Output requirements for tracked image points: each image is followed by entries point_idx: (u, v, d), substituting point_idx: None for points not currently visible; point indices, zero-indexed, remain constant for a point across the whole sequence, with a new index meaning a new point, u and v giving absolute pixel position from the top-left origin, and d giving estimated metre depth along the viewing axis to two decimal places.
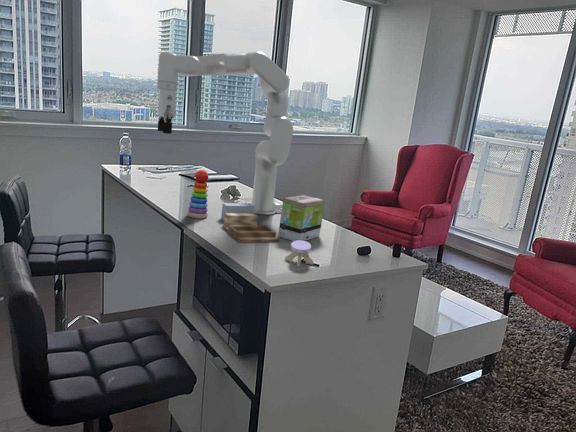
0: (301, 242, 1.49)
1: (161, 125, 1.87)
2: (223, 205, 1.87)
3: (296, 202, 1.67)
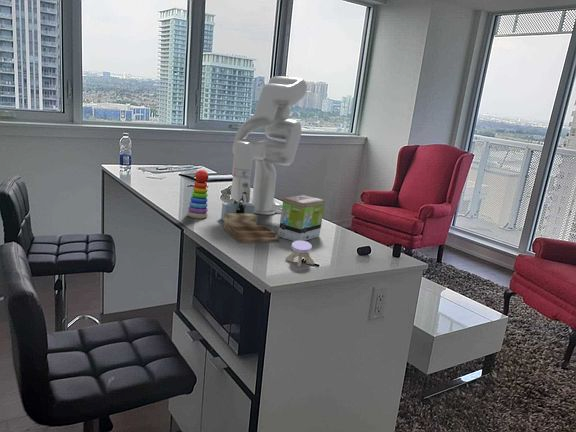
0: (302, 242, 1.49)
1: None
2: (223, 205, 1.87)
3: (296, 202, 1.67)
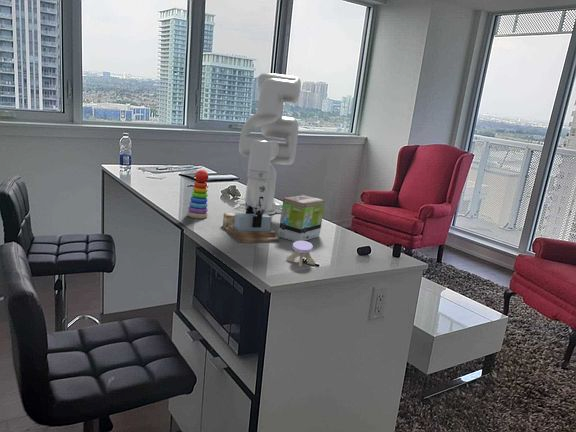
0: (303, 242, 1.49)
1: None
2: (236, 216, 1.67)
3: (296, 202, 1.67)
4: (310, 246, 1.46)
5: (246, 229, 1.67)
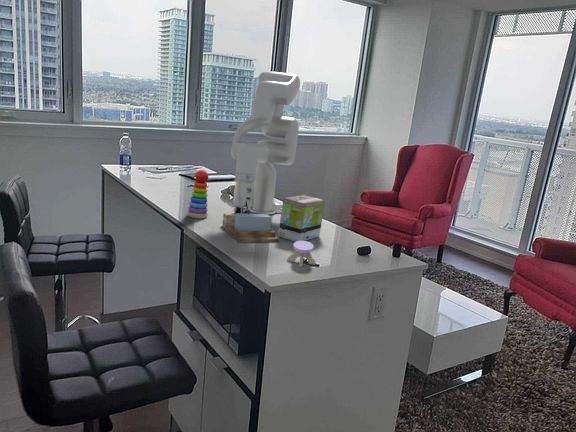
0: (303, 242, 1.49)
1: None
2: (236, 216, 1.67)
3: (296, 202, 1.67)
4: (311, 246, 1.46)
5: (246, 229, 1.67)
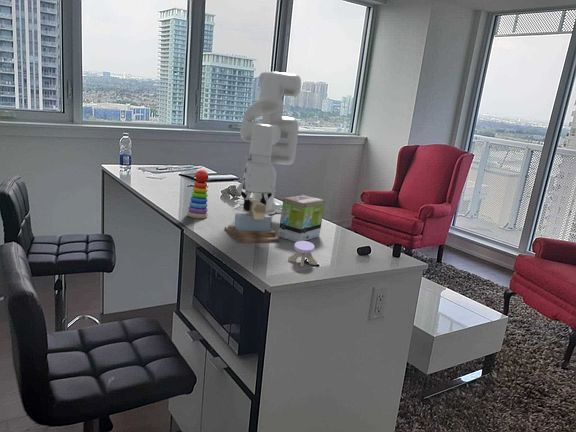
0: (304, 242, 1.49)
1: None
2: (236, 216, 1.67)
3: (296, 202, 1.67)
4: (312, 246, 1.46)
5: (246, 229, 1.67)
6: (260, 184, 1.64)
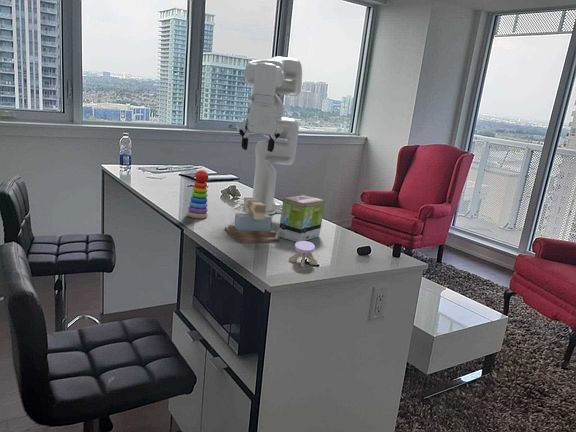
0: (305, 243, 1.49)
1: (269, 145, 1.68)
2: (236, 216, 1.67)
3: (296, 202, 1.67)
4: (312, 246, 1.46)
5: (246, 229, 1.67)
6: (263, 125, 1.62)
